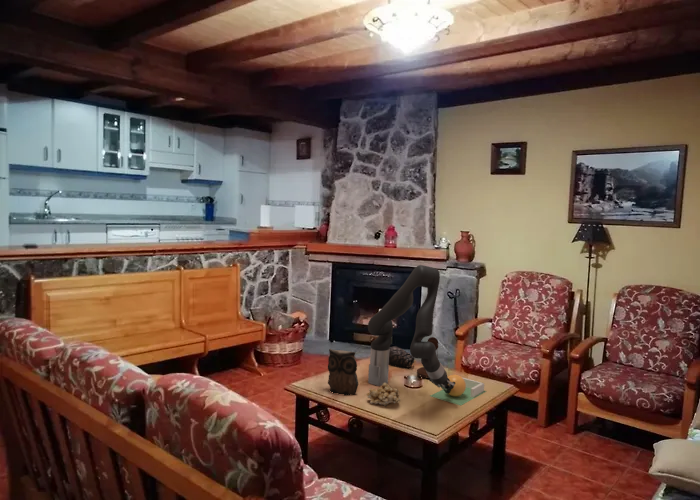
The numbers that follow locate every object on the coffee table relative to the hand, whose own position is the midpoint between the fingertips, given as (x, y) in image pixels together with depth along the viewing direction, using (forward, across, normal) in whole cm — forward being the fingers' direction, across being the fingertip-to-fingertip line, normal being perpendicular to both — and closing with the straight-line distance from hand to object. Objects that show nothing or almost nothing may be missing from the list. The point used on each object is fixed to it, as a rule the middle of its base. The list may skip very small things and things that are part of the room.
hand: (448, 391), depth 235 cm
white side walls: (+14, 0, -9) cm, 17 cm away
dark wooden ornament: (+19, +23, -13) cm, 33 cm away
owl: (-16, +40, +21) cm, 48 cm away
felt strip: (+10, 0, -4) cm, 11 cm away
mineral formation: (-15, +17, +20) cm, 31 cm away
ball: (+3, 0, -5) cm, 6 cm away
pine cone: (+22, +45, -16) cm, 52 cm away
